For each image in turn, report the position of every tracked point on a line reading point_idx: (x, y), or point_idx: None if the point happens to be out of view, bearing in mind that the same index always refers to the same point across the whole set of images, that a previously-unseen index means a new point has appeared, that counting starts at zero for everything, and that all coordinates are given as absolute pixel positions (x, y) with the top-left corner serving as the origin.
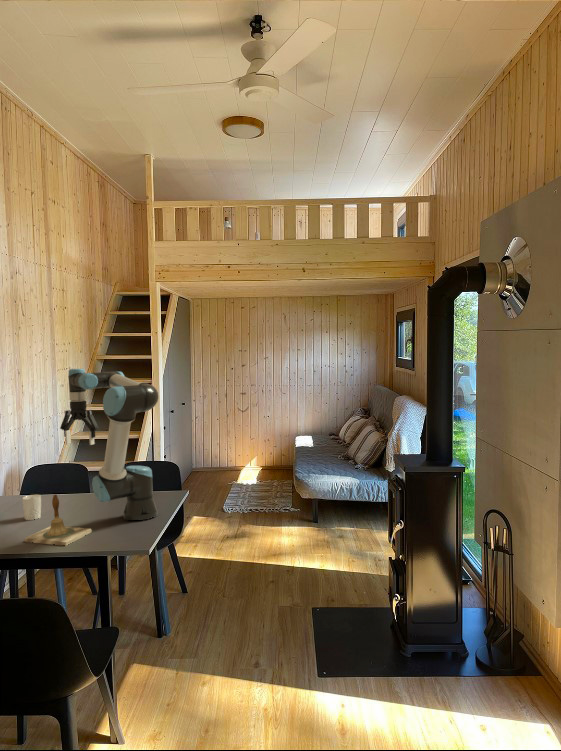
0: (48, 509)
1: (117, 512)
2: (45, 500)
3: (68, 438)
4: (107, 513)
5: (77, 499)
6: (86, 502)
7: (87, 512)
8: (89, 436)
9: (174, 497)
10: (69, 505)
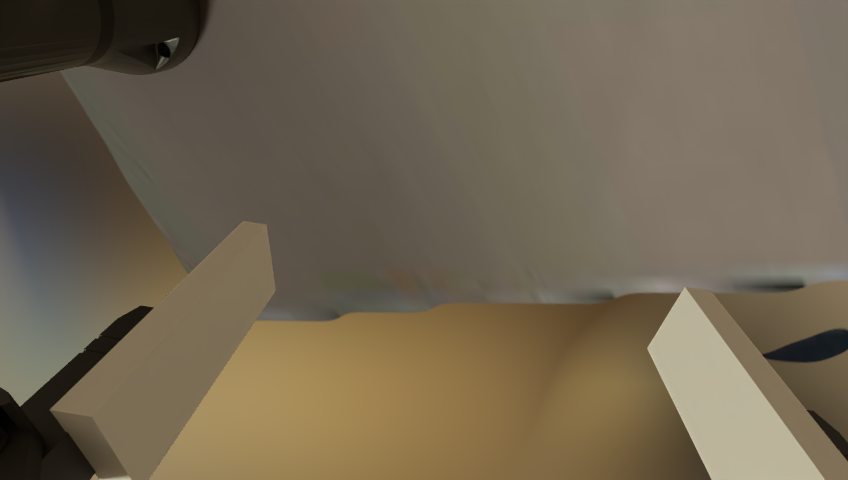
0: (653, 59)
1: (271, 41)
2: (720, 204)
3: (711, 387)
4: (307, 19)
5: (564, 222)
6: (502, 182)
7: (415, 25)
8: (178, 316)
9: (193, 253)
10: (564, 134)
